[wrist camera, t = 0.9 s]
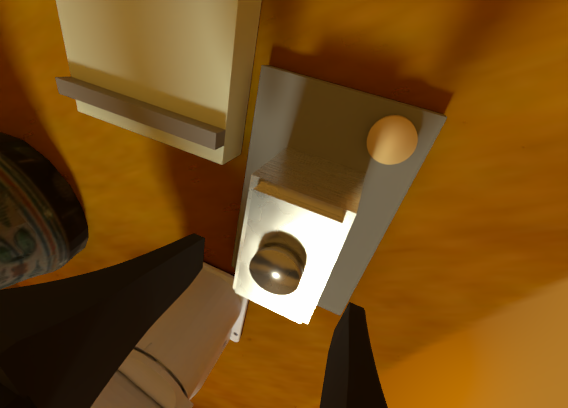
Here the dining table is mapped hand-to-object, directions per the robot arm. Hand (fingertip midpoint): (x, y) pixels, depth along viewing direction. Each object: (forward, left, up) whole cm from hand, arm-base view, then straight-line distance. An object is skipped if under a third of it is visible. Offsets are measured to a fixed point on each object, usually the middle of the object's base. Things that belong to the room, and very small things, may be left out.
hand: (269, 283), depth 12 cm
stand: (+8, +12, -8) cm, 16 cm away
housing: (0, 0, -7) cm, 7 cm away
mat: (0, 0, -8) cm, 8 cm away
